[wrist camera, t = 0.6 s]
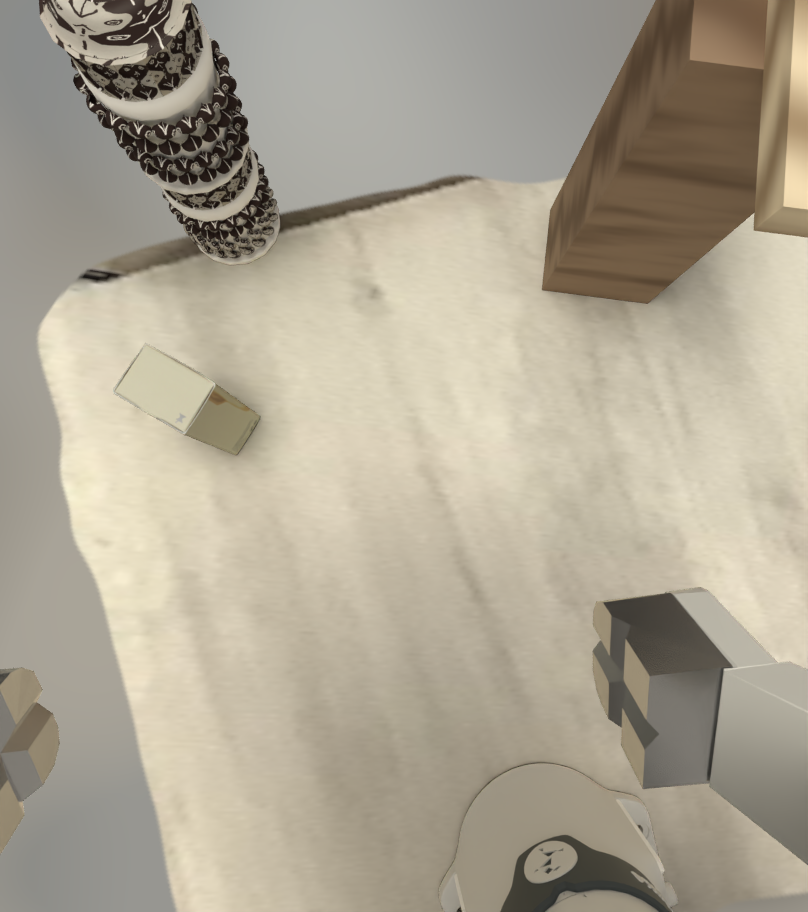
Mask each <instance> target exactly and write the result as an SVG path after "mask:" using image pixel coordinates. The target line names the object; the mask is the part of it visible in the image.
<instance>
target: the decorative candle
mask: <svg viewBox="0 0 808 912" xmlns="http://www.w3.org/2000/svg"><path fill="white" fill-rule="evenodd" d="M39 6H40V18H41V20H42V21H43V23H44V25H45V27H46V29H47V30H48V32H49V34H50V36H51V38H52V39H53V41H54V42H55V43H57V44H58V45H59V46H61V47H62V48H64V49H65V50H66V51H67V53H68V54H69V56H70V57H71V62H72V67H73V68H74V69H75V70H77V71H79V73H78V74H75V76H74V79H73V82H74V84H75V86H76V88H77V89H78V90H79V91H80V92H81V93H83V94H86V95H87V98H86V102H87V106H88V108H89V109H90V110H91V111H92V112H94V113H95V114H98V119H99V122H100V123H101V125H102V126H103V127H105V128H109V129H111V130H113V131H114V132H115V135H116V137H117V142H118V144H119V146H120V147H122V148H123V149H126V153H127V155H128V157H129V158H130V159H131V160H133V161H138V162H139V164H140V166H141V168H142V170H143V171H144V173H145V174H146V175H147V177H149V178H150V179H151V180H153V181H154V182H155V183H157V184H158V185H159V186H160V187H161V189H162V190H163V197H164V198H165V199H166V200H167V201H169V202H170V203H169V208H170V210H171V212H172V213H173V214H175V215H177V220H178V221H179V222H180V223H181V224H183V227H184V230H185V232H186V233H187V234H188V235H189V236H190V237H191V240H192V241H193V242H194V243H195V244H197V245H198V247H199V249H200V250H201V251H202V252H203V253H205V254H206V255H207V256H209V257H210V258H211V259H212V260H214V261H217V262H220V263H224V264H228V265H240V264H248V263H251V262H252V261H254V260H256V259H258V258H260V257H262V256H264V255H265V254H266V253H267V252H268V250H269V249H270V248H271V247H272V246H273V244H274V243H275V242H276V239H277V236H278V232H279V229H280V217H279V209H278V207H277V201H276V199H273V198H272V196H273V190H272V189H270V187H268V178H267V177H266V176H265V175H264V167H263V166H262V165H261V164H259V163H258V155H257V154H256V152H255V151H253V150H252V149H251V147H250V145H249V142H248V141H249V136H248V132H247V125H248V120H247V118H246V117H245V116H244V115H242V114H241V113H240V111H241V108H242V103H241V101H240V99H239V98H238V97H236V95H235V94H234V93H233V92H234V91H235V89H236V81H235V79H234V78H233V77H232V76H230V74H229V73H228V68H229V61H228V59H227V57H226V56H225V55H224V54H222V53H219V51H220V50H219V45H218V43H217V42H216V41H215V40H213V39H210V38H209V36H208V34H207V31H206V29H205V26H204V24H203V22H202V20H201V19H200V17H199V15H198V11H197V8H196V7H195V5H194V4H192V2H191V0H39ZM215 58H216V60H217V61H215ZM217 71H218V73H219V75H218V73H217ZM101 103H102V104H103V105H104V106H102V104H101ZM105 108H106V109H107V110H106V109H105ZM132 143H134V145H133V144H132Z"/></svg>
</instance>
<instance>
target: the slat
mask: <svg viewBox="0 0 808 912" xmlns="http://www.w3.org/2000/svg"><path fill="white" fill-rule="evenodd" d="M754 231H762V232H770V233H778V234H785V235H793V236H801V237H808V0H768V7H767V23H766V39H765V55H764V71H763V87H762V103H761V119H760V135H759V151H758V167H757V183H756V199H755V215H754Z"/></svg>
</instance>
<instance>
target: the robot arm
mask: <svg viewBox="0 0 808 912" xmlns="http://www.w3.org/2000/svg"><path fill="white" fill-rule="evenodd" d="M593 626H594V628H595V630H596V632H597V634H598V636H599V637H600V639H601V641H600V642H599V643H598V644H597V646H596V647H595V648H594V650H593V673H594V679H595V684H596V690H597V693H598V696H599V699H600V701H601V704H602V706H603V709H604V711H605V713H606V715H607V717H608V719H609V720H611V721H612V722H614V723H615V724H617V725H618V726H620V727H621V728H622V735H621V746H622V748H623V750H624V752H625V754H626V756H627V758H628V760H629V762H630V764H631V766H632V768H633V770H634V772H635V774H636V776H637V778H638V780H639V782H640V784H641V786H642V788H643V789H647V788H659V787H670V786H681V785H693V784H704V783H710V786H709V787H711V788H712V789H713V790H714V791H716V792H717V793H718V794H719V795H721V796H722V797H723V798H724V799H726V800H727V801H728V802H729V803H731V804H732V805H733V806H734V807H736V808H737V809H738V810H739V811H741V812H742V813H743V814H744V815H746V816H747V817H748V818H749V819H751V820H752V821H753V822H754V823H756V824H757V825H758V826H759V827H761V828H762V829H763V830H764V831H766V832H767V833H768V834H769V835H771V836H772V837H773V838H774V839H776V840H777V841H778V842H779V843H781V844H782V845H783V846H784V847H786V848H787V849H788V850H789V851H791V852H792V853H793V854H794V855H796V856H797V857H798V858H799V859H801V860H802V861H803V862H804V863H806V864H807V865H808V669H806V668H803V667H801V666H799V665H796V664H794V663H792V662H781V663H778V662H777V661H776V660H775V659H774V658H773V657H772V656H771V655H770V654H769V653H768V652H767V651H766V650H765V649H764V648H763V647H762V646H761V645H760V644H759V643H758V641H757V640H756V639H755V638H754V637H753V636H752V635H751V634H750V633H749V632H748V631H747V630H746V629H745V628H744V627H743V626H742V625H741V624H740V623H739V622H738V621H737V620H736V619H735V618H734V617H733V616H732V615H731V614H730V612H729V611H728V610H727V609H726V608H725V607H724V606H723V605H722V604H721V603H720V602H719V601H718V600H717V599H716V598H715V597H714V596H713V595H712V594H711V593H710V592H709V591H708V590H706V589H704V588H701V587H697V588H690V589H683V590H676V591H669V592H665V593H664V594H656V595H647V596H639V597H631V598H622V599H614V600H606V601H597V602H596V604H595V607H594V611H593ZM41 692H42V687H41V685H40V683H39V681H38V679H37V677H36V675H35V673H34V671H31V670H28V669H25V668H13V669H1V670H0V854H1V853H2V851H3V849H4V848H5V846H6V845H7V843H8V841H9V840H10V838H11V836H12V835H13V833H14V831H15V830H16V828H17V827H18V825H19V824H20V822H21V820H22V819H23V817H24V808H23V801H24V799H26V798H27V797H29V796H30V795H31V794H32V793H34V792H35V791H36V790H37V789H39V788H40V787H41V786H42V785H43V784H44V783H45V780H46V779H47V777H48V776H49V774H50V772H51V771H52V769H53V767H54V765H55V761H56V756H57V752H58V748H59V744H60V742H59V731H58V725H57V723H56V721H55V718H54V716H53V713H51V712H50V711H48V710H47V709H45V708H44V707H43V706H41V705H40V704H38V703H37V701H38V699H39V697H40V694H41ZM637 825H640V827H639V828H638V826H637ZM664 871H665V870H664V867H663V864H662V862H661V860H660V859H659V855H658V851H657V846H656V842H655V838H654V834H653V829H652V825H651V821H650V817H649V813H648V811H647V809H646V807H645V805H644V804H643V802H642V801H641V800H640V799H639V798H637V797H635V796H633V795H630V794H626V793H622V792H616V791H610V790H607V789H605V788H603V787H602V786H600V785H598V784H597V783H596V782H594V781H593V780H591V779H590V778H588V777H587V776H585V775H583V774H582V773H580V772H578V771H576V770H573V769H571V768H568V767H565V766H561V765H556V764H547V763H537V764H529V765H524V766H520V767H517V768H514V769H512V770H509V771H507V772H505V773H503V774H502V775H500V776H498V777H497V778H495V779H494V780H493V781H491V782H490V783H489V784H488V785H487V786H486V787H485V788H484V789H483V790H482V791H481V792H480V793H479V794H478V796H477V797H476V798H475V800H474V801H473V803H472V804H471V806H470V808H469V810H468V812H467V814H466V816H465V819H464V821H463V824H462V827H461V831H460V836H459V842H458V848H457V853H456V857H455V860H454V862H453V864H452V865H451V867H450V869H449V870H448V872H447V873H446V875H445V877H444V879H443V881H442V883H441V885H440V888H439V899H440V903H441V906H442V909H443V910H444V912H459V911H458V908H459V907H461V910H462V912H674V911H673V910H672V908H671V906H675V905H677V904H678V899H677V896H676V893H675V891H674V889H673V887H672V885H671V884H670V883H669V882H666V883H665V880H664V876H663V873H664Z"/></svg>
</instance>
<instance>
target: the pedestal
mask: <svg viewBox="0 0 808 912" xmlns="http://www.w3.org/2000/svg"><path fill="white" fill-rule="evenodd" d="M767 7H768V0H656V1H655V3H654V5H653V7H652V9H651V11H650V13H649V15H648V17H647V19H646V21H645V23H644V25H643V27H642V29H641V31H640V33H639V35H638V37H637V39H636V41H635V43H634V45H633V47H632V49H631V51H630V53H629V55H628V57H627V59H626V61H625V63H624V65H623V66H622V68H621V70H620V72H619V75H618V76H617V78H616V81H615V82H614V84H613V86H612V88H611V90H610V92H609V94H608V96H607V98H606V100H605V102H604V104H603V106H602V108H601V111H600V112H599V114H598V116H597V118H596V120H595V122H594V124H593V126H592V128H591V130H590V132H589V134H588V136H587V138H586V140H585V142H584V144H583V146H582V148H581V150H580V152H579V154H578V156H577V158H576V160H575V162H574V164H573V166H572V168H571V170H570V172H569V174H568V176H567V178H566V180H565V182H564V184H563V186H562V188H561V190H560V192H559V194H558V196H557V198H556V200H555V202H554V204H553V206H552V208H551V210H550V218H549V228H548V237H547V247H546V256H545V266H544V275H543V285H542V290H547V291H554V292H562V293H570V294H578V295H585V296H593V297H601V298H609V299H616V300H624V301H632V302H639V303H647V304H648V303H649V302H650V301H651V300H652V299H653V298H655V297H656V296H657V295H658V294H659V293H660V292H662V291H663V290H664V289H665V288H666V287H668V286H669V285H670V284H671V283H672V282H673V281H675V280H676V279H677V278H678V277H679V276H680V275H682V274H683V273H684V272H685V271H686V270H687V269H689V268H690V267H691V266H692V265H693V264H694V263H696V262H697V261H698V260H699V259H700V258H702V257H703V256H704V255H705V254H706V253H707V252H709V251H710V250H711V249H712V248H713V247H714V246H716V245H717V244H718V243H719V242H720V241H721V240H723V239H724V238H725V237H726V236H727V235H728V234H730V233H731V232H732V231H733V230H734V229H736V228H737V227H738V226H739V225H740V224H741V223H743V222H744V221H745V220H746V219H747V218H748V217H750V216H751V215H752V214H753V213H754V212H755V199H756V183H757V167H758V151H759V135H760V119H761V103H762V87H763V71H764V55H765V39H766V23H767Z"/></svg>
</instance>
